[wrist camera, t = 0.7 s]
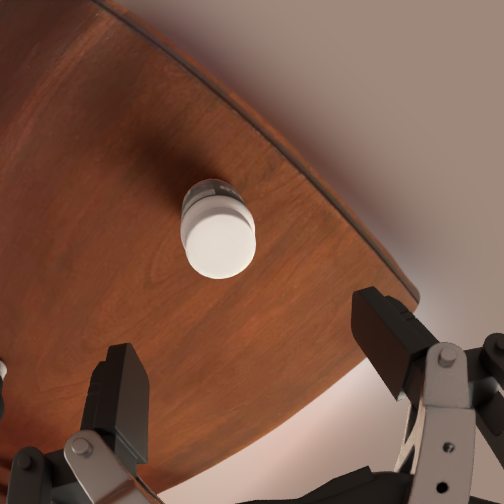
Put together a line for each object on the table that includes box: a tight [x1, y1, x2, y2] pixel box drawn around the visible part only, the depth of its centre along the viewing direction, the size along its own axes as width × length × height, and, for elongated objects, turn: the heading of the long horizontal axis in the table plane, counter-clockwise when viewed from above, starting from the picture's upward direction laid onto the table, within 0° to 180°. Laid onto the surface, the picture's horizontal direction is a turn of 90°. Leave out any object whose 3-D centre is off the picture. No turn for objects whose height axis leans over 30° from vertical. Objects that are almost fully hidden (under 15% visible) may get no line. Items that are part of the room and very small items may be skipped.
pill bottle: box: [180, 179, 256, 279], centre depth 21 cm, size 5×5×8 cm
